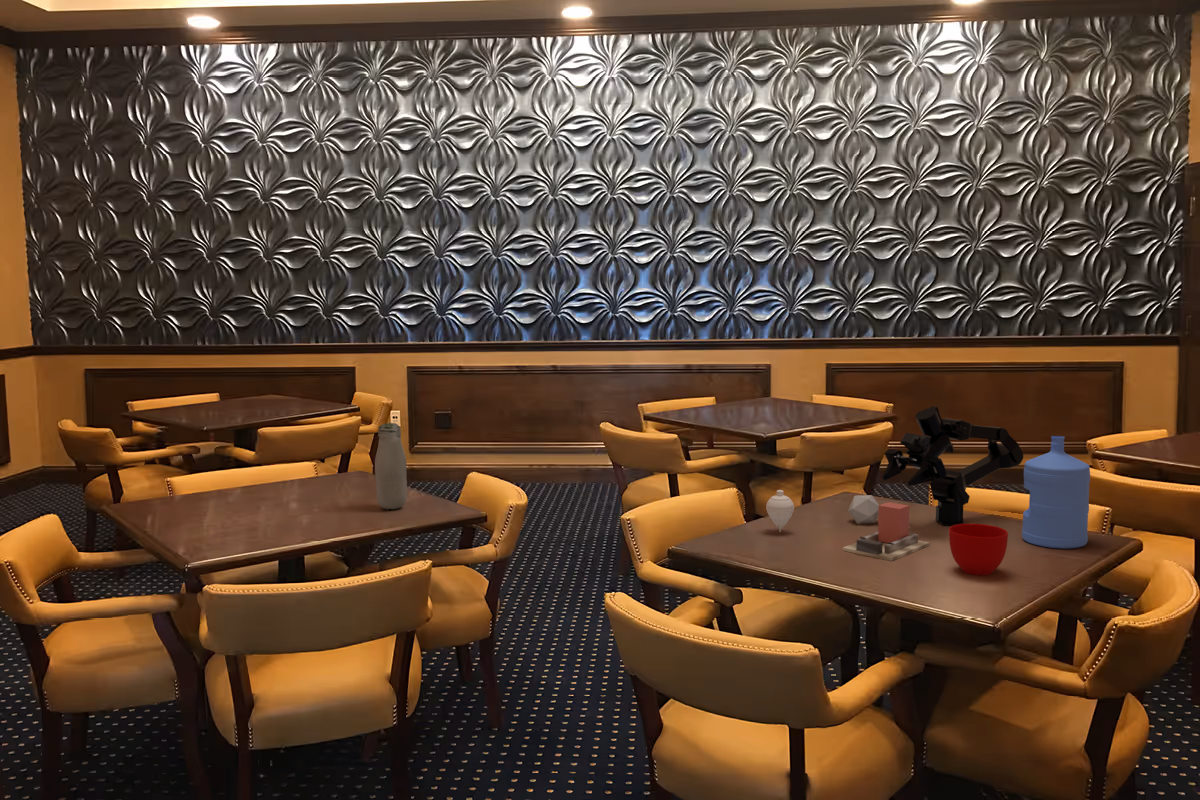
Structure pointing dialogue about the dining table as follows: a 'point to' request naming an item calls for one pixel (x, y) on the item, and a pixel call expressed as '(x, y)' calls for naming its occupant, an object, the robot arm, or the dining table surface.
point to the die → (864, 509)
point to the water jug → (1056, 499)
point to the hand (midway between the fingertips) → (895, 481)
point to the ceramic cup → (978, 547)
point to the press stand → (886, 547)
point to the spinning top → (780, 509)
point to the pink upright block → (893, 522)
